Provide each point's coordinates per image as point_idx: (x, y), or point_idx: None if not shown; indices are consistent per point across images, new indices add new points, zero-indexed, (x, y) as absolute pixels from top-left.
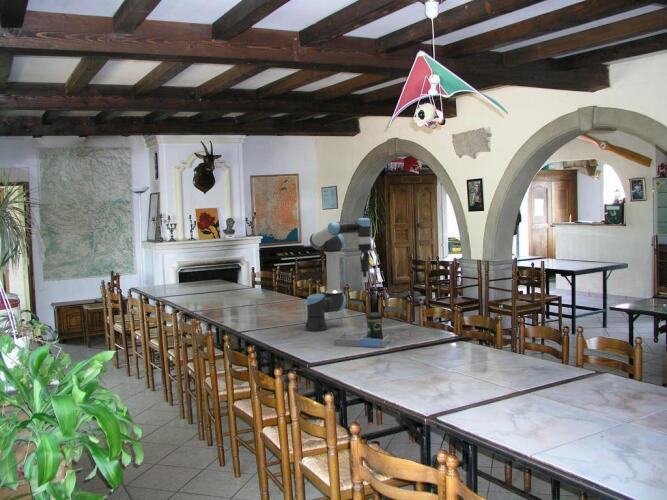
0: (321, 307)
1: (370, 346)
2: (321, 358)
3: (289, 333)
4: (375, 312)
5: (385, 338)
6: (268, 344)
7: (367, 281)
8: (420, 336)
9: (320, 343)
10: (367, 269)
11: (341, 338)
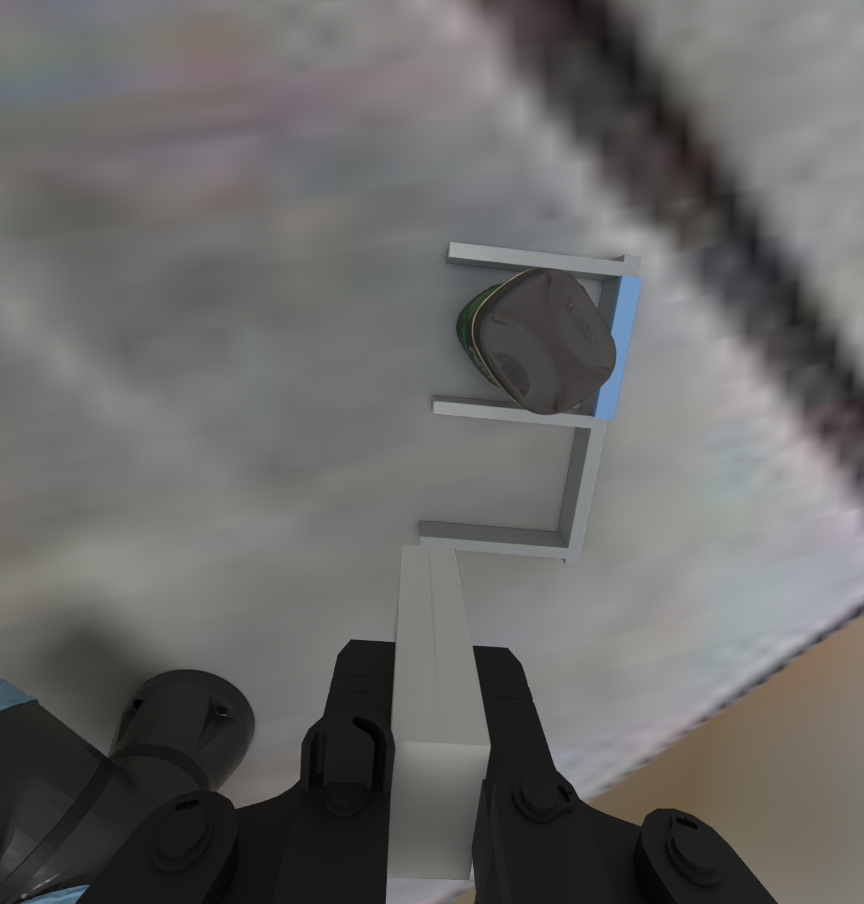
0: (143, 816)
1: None
2: (835, 542)
3: None
4: (548, 331)
5: (565, 255)
6: None
7: (427, 553)
8: (268, 36)
9: (525, 621)
10: (362, 830)
11: (498, 535)
